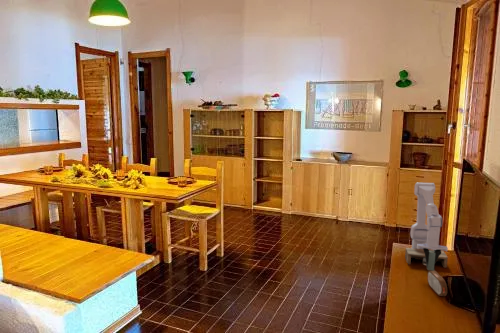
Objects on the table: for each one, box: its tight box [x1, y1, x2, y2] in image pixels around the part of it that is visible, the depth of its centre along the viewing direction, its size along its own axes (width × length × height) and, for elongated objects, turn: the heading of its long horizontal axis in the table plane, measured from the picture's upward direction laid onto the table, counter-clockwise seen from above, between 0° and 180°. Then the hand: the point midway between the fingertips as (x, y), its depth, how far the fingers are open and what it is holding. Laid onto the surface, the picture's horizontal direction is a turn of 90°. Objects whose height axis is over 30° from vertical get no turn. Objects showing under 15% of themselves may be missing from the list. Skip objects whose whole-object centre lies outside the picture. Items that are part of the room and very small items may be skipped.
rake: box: [422, 249, 436, 271], centre depth 200 cm, size 11×4×10 cm, turn 166°
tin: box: [427, 270, 448, 297], centre depth 177 cm, size 15×3×8 cm, turn 179°
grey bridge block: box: [404, 247, 449, 269], centre depth 208 cm, size 9×20×6 cm, turn 76°
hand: (430, 262), depth 196 cm, fingers closed on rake, 3 cm apart
